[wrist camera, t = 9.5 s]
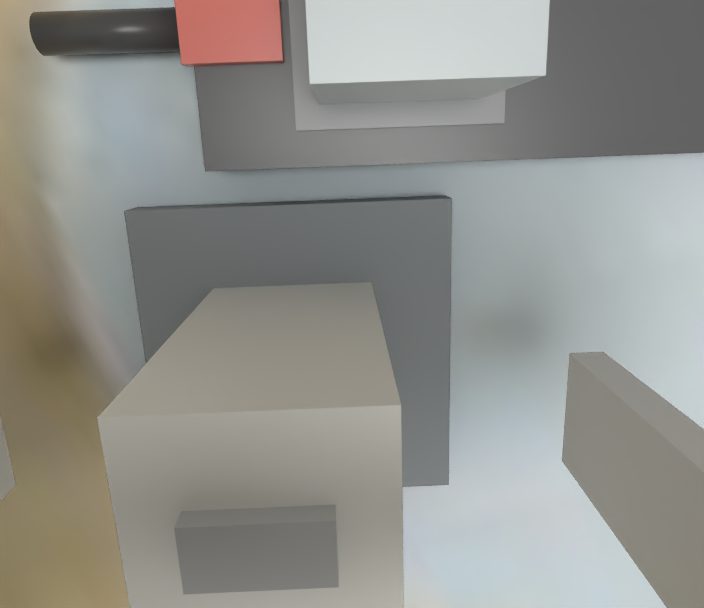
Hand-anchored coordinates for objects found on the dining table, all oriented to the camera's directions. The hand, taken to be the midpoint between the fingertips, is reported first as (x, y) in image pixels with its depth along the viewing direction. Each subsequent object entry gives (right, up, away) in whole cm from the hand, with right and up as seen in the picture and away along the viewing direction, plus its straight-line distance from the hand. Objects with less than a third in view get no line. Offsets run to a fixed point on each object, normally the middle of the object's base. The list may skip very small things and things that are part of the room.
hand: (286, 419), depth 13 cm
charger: (0, +1, +4) cm, 4 cm away
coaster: (0, +1, +5) cm, 5 cm away
